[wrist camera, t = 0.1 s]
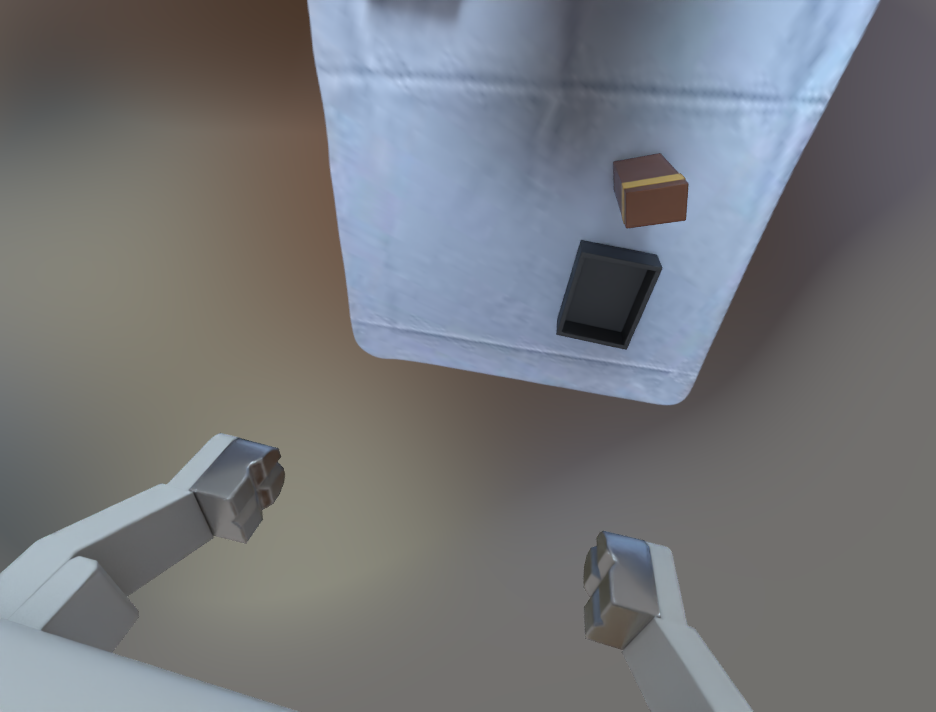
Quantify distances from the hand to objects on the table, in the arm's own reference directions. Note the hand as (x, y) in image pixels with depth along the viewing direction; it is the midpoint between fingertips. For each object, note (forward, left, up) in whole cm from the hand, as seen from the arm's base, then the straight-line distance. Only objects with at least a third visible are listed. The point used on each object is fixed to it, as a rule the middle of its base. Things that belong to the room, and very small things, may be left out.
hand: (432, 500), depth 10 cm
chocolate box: (0, +11, -48) cm, 49 cm away
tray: (+15, +12, -48) cm, 52 cm away
